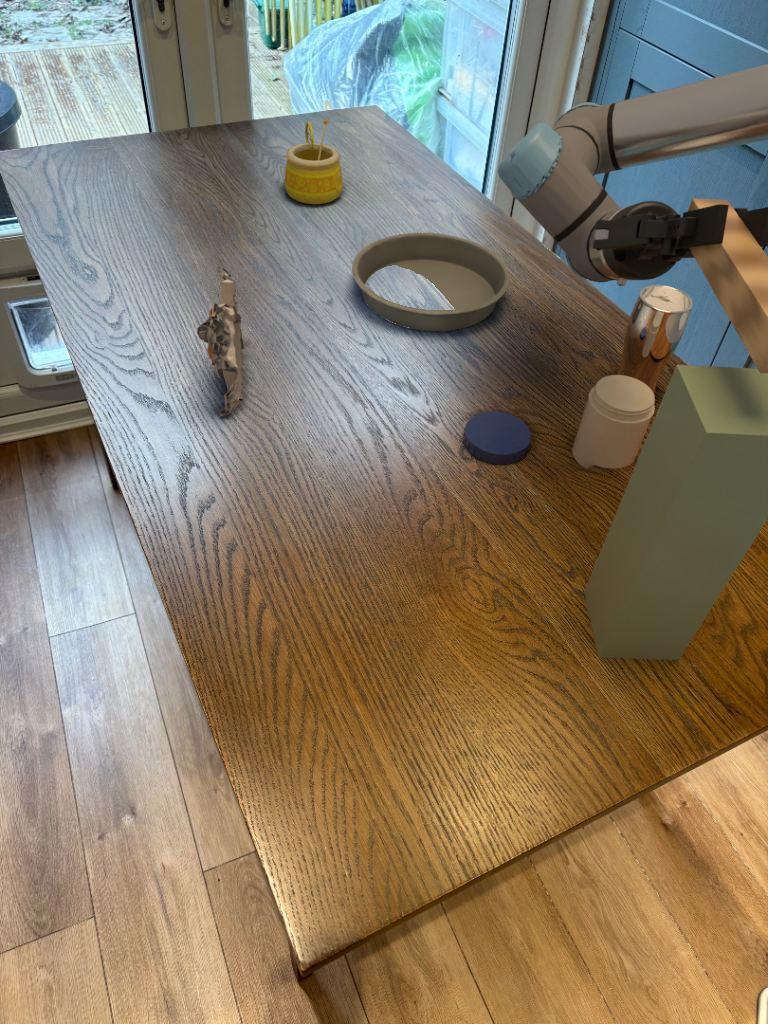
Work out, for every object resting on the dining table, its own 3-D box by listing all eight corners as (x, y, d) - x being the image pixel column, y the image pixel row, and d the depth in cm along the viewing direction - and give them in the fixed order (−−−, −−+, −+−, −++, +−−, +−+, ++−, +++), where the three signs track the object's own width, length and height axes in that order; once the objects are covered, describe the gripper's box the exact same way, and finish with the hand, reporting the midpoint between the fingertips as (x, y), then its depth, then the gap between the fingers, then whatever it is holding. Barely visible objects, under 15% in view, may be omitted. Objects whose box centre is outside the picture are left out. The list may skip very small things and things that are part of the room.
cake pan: (390, 243, 131) (392, 218, 127) (525, 280, 124) (530, 255, 121) (323, 310, 115) (323, 283, 112) (473, 356, 109) (478, 329, 105)
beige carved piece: (214, 351, 106) (202, 266, 96) (244, 351, 106) (236, 266, 97) (209, 420, 96) (196, 332, 86) (243, 419, 96) (234, 331, 87)
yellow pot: (329, 213, 137) (329, 145, 128) (275, 201, 139) (271, 133, 131) (355, 186, 146) (357, 121, 137) (304, 175, 148) (303, 110, 139)
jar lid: (467, 416, 99) (469, 406, 98) (530, 427, 98) (533, 417, 97) (459, 458, 93) (460, 447, 92) (526, 470, 93) (528, 459, 91)
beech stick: (679, 232, 64) (692, 198, 62) (714, 234, 64) (727, 200, 62) (759, 373, 50) (779, 335, 48) (803, 375, 50) (825, 337, 48)
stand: (580, 598, 79) (676, 364, 57) (655, 601, 80) (778, 369, 58) (594, 664, 74) (706, 432, 52) (674, 667, 74) (819, 437, 52)
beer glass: (636, 374, 108) (670, 279, 97) (666, 403, 103) (706, 307, 92) (596, 384, 105) (626, 288, 95) (626, 414, 101) (661, 317, 90)
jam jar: (646, 464, 95) (672, 402, 87) (599, 483, 92) (622, 421, 84) (605, 428, 99) (627, 366, 92) (559, 445, 96) (578, 382, 89)
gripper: (705, 284, 80) (838, 282, 57) (556, 276, 79) (631, 272, 57) (717, 208, 78) (861, 176, 55) (564, 200, 77) (646, 164, 55)
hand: (744, 225), depth 56 cm, fingers closed on beech stick, 3 cm apart
